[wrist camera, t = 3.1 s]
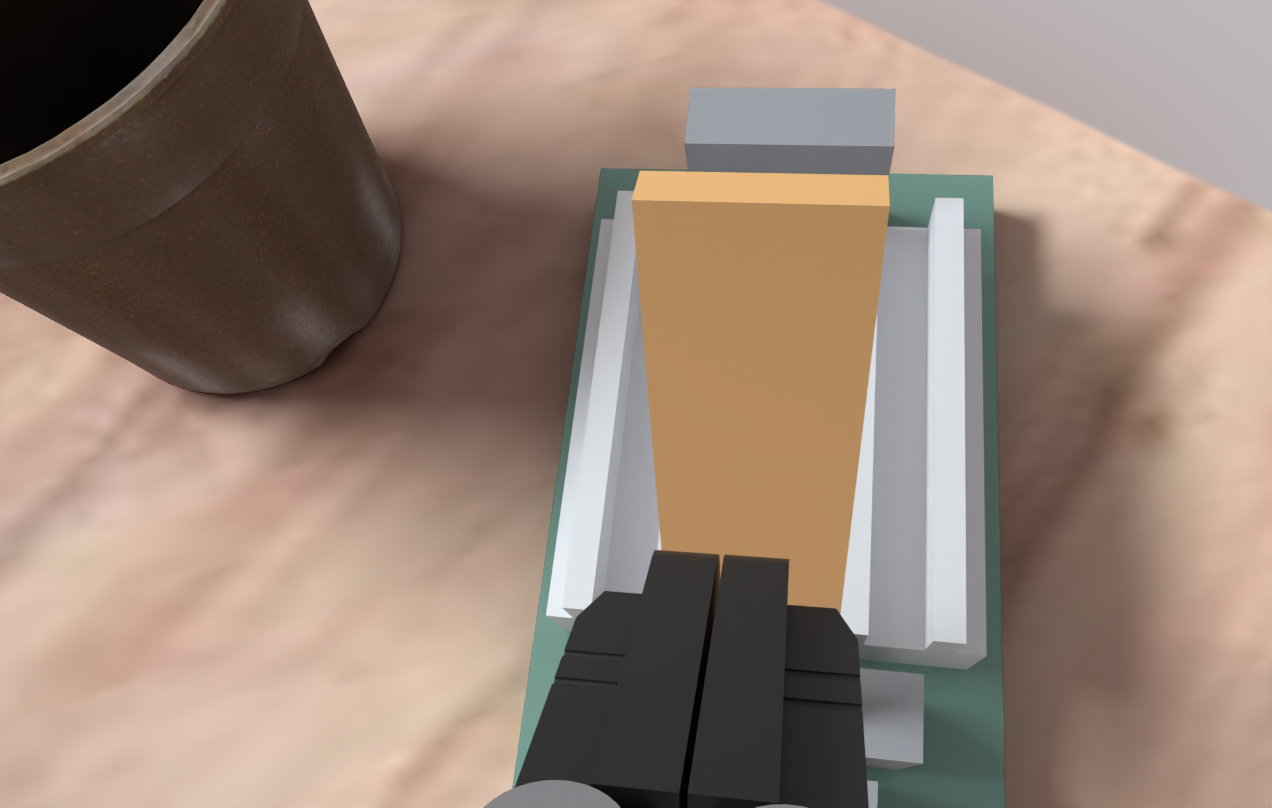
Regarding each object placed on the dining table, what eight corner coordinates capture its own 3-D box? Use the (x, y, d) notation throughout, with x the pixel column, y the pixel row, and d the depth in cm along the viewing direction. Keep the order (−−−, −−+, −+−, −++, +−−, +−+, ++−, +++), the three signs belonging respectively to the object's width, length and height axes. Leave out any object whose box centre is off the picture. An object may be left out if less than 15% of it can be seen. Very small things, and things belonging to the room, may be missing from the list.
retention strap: (825, 711, 25) (825, 742, 24) (680, 696, 25) (676, 726, 25) (888, 175, 14) (889, 205, 14) (639, 170, 15) (631, 199, 14)
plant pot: (82, 131, 44) (-273, -210, 29) (438, 55, 43) (260, -339, 28) (55, 481, 38) (-412, 274, 23) (471, 401, 37) (264, 131, 22)
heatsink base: (982, 206, 37) (1037, 47, 29) (991, 875, 29) (1071, 903, 21) (609, 198, 39) (567, 47, 31) (523, 817, 31) (439, 823, 23)
